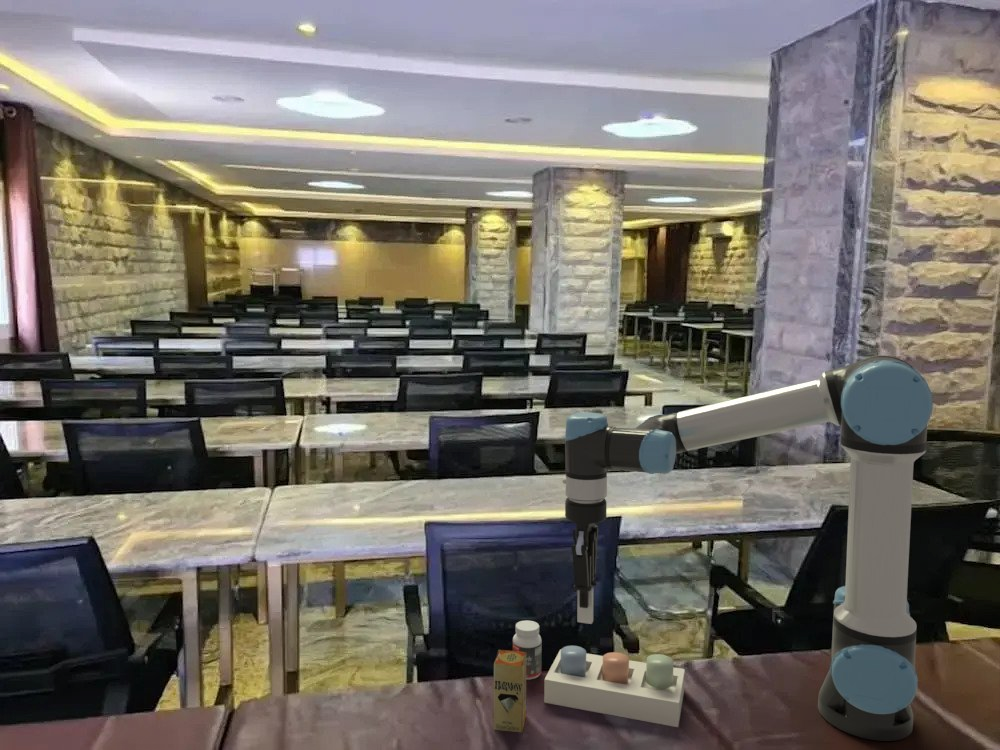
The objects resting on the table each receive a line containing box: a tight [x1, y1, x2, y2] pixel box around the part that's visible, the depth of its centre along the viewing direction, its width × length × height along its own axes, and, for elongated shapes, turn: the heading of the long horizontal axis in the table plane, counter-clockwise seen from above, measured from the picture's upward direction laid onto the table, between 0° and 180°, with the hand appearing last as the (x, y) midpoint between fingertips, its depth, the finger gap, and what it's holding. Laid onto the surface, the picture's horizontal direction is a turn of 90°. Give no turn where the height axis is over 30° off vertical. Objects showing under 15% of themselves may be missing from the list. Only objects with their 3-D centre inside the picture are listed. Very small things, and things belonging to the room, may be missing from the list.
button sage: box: [645, 653, 674, 689], centre depth 133 cm, size 5×5×4 cm
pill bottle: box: [512, 620, 543, 681], centre depth 145 cm, size 6×6×10 cm
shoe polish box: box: [493, 649, 527, 733], centre depth 128 cm, size 5×5×12 cm
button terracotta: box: [602, 651, 630, 684], centre depth 136 cm, size 5×5×4 cm
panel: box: [543, 648, 686, 728], centre depth 136 cm, size 24×12×4 cm, turn 71°
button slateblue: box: [560, 645, 587, 677], centre depth 139 cm, size 5×5×4 cm
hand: (585, 621), depth 137 cm, fingers closed
